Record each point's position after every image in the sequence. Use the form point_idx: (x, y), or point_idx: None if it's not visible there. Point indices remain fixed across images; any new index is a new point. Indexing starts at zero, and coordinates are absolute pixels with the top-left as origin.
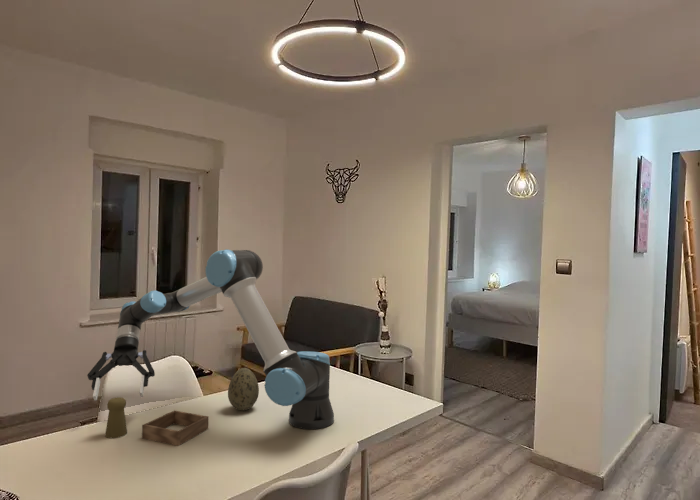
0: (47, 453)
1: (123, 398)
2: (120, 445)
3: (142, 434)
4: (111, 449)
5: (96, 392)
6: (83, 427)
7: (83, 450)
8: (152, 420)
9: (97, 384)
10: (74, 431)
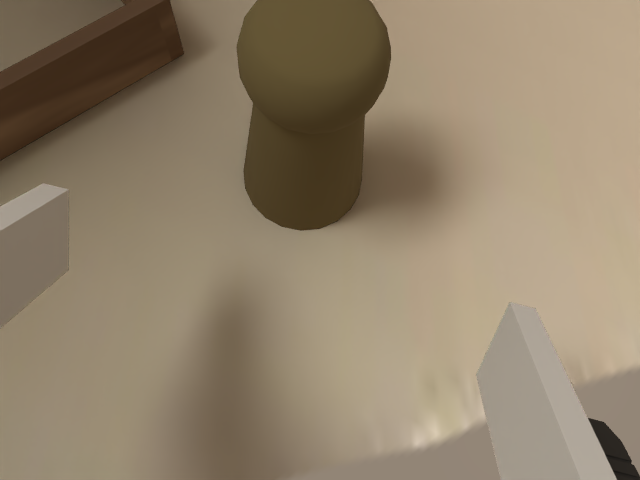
0: (609, 94)
1: (257, 20)
2: None
3: (179, 37)
4: None
5: (516, 340)
6: None
7: (456, 50)
8: (93, 38)
9: (555, 408)
10: None
